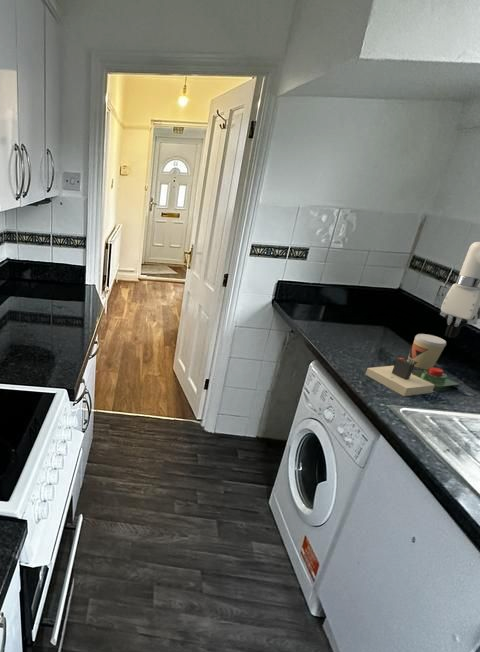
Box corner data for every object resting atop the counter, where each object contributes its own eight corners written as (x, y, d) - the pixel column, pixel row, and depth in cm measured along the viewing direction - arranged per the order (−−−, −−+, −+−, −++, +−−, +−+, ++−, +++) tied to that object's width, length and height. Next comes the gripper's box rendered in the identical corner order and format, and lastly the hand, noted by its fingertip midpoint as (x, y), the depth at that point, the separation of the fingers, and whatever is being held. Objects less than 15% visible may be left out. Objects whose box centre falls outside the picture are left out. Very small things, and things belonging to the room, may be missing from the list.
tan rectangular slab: (431, 393, 136) (435, 384, 135) (404, 396, 133) (407, 387, 132) (390, 372, 150) (393, 365, 148) (364, 375, 146) (367, 367, 145)
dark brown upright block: (409, 379, 138) (415, 363, 136) (405, 379, 138) (411, 364, 135) (395, 372, 143) (401, 357, 140) (391, 372, 142) (397, 357, 140)
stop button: (444, 376, 141) (446, 371, 140) (436, 376, 140) (438, 372, 139) (433, 371, 144) (435, 366, 143) (425, 372, 143) (427, 367, 142)
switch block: (456, 389, 140) (461, 379, 138) (437, 392, 137) (441, 381, 136) (425, 375, 149) (429, 365, 148) (406, 377, 147) (410, 367, 145)
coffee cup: (398, 360, 160) (410, 332, 154) (424, 363, 159) (437, 335, 153) (411, 371, 151) (425, 342, 146) (439, 375, 150) (453, 345, 145)
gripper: (507, 287, 125) (482, 344, 132) (455, 276, 138) (435, 328, 145) (490, 288, 123) (466, 345, 130) (439, 277, 136) (420, 329, 143)
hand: (450, 336), depth 138 cm, fingers closed
